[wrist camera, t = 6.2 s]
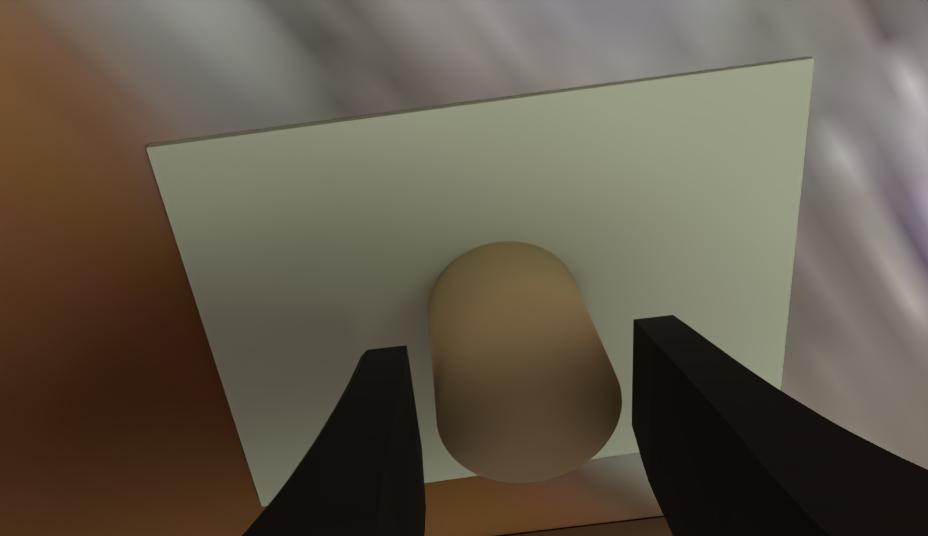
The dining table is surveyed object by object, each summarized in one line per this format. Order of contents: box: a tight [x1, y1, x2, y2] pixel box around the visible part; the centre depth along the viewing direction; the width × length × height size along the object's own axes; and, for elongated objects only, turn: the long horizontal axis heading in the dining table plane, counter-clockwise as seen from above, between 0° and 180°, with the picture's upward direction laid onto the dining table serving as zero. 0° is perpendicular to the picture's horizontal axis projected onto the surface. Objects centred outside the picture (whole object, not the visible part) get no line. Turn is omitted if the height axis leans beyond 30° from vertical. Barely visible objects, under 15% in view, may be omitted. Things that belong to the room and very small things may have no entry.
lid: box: [146, 57, 814, 506], centre depth 13 cm, size 8×11×4 cm
